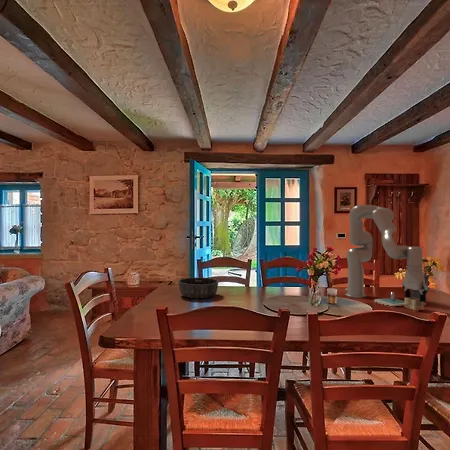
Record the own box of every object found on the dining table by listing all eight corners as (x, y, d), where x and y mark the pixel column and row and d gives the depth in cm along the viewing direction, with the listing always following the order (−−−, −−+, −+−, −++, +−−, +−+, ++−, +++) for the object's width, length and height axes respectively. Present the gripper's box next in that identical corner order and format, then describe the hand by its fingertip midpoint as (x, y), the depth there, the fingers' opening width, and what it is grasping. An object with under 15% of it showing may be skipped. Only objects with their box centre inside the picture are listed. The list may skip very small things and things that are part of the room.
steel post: (390, 300, 199) (390, 292, 199) (392, 300, 200) (392, 291, 200) (392, 301, 197) (392, 292, 197) (395, 301, 198) (395, 292, 198)
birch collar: (404, 308, 187) (404, 297, 187) (413, 307, 189) (413, 297, 189) (414, 311, 181) (414, 300, 181) (423, 310, 183) (423, 299, 183)
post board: (374, 301, 203) (374, 298, 203) (392, 300, 207) (392, 297, 207) (392, 307, 190) (392, 304, 190) (411, 305, 194) (411, 302, 194)
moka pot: (421, 306, 192) (422, 272, 192) (400, 300, 207) (401, 268, 206) (435, 305, 194) (435, 271, 194) (413, 299, 209) (413, 268, 209)
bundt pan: (225, 294, 222) (225, 279, 222) (206, 302, 198) (207, 285, 198) (191, 290, 233) (191, 276, 233) (169, 297, 209) (169, 282, 209)
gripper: (396, 267, 192) (397, 297, 192) (423, 271, 176) (423, 303, 175) (407, 267, 194) (407, 296, 194) (433, 270, 178) (434, 302, 178)
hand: (415, 299), depth 185 cm, fingers open, 9 cm apart
